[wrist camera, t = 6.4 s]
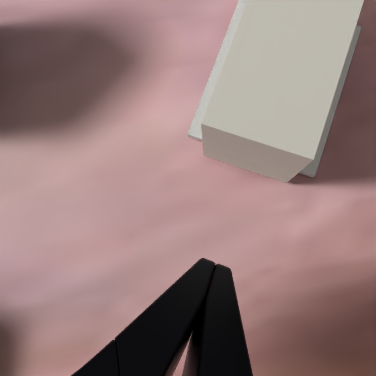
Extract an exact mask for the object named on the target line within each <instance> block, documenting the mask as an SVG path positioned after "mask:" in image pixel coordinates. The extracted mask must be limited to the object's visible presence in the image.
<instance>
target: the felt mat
mask: <svg viewBox="0 0 376 376" xmlns="http://www.w3.org/2000/svg"><path fill="white" fill-rule="evenodd" d="M247 1H248V0H239V2H238V4H237V7H236V10H235V12H234V15H233V17H232V20H231V23H230V25H229V28H228V30H227V33H226V36H225V38H224V41H223V43H222V46H221V49H220V51H219V54H218V56H217V59H216V62H215V64H214V67H213V69H212V72H211V75H210V77H209V80H208V82H207V85H206V88H205V90H204V93H203V96H202V98H201V101H200V103H199V106H198V109H197V111H196V114H195V116H194V119H193V122H192V124H191V127H190V129H189V132H188V137H190V138H193V139H196V140H199V141H202V142H203V140H202V130H201V122H202V120H203V117H204V114H205V112H206V109H207V106H208V104H209V101H210V98H211V96H212V93H213V91H214V88H215V85H216V83H217V80H218V77H219V75H220V72H221V69H222V67H223V64H224V62H225V59H226V56H227V54H228V51H229V48H230V46H231V43H232V40H233V38H234V35H235V33H236V30H237V27H238V25H239V22H240V19H241V17H242V14H243V11H244V9H245V6H246V4H247ZM361 28H362V26H358V25H356V27H355V31H354V34H353V37H352V40H351V43H350V46H349V50H348V53H347V56H346V59H345V62H344V65H343V68H342V72H341V75H340V78H339V81H338V84H337V87H336V91H335V94H334V97H333V100H332V103H331V106H330V110H329V113H328V116H327V119H326V122H325V125H324V129H323V132H322V135H321V138H320V141H319V144H318V147H317V151H316V154H315V157H314V160H313V161H312V162H310V163H309V164H308V165H307V166H306V167H305V168H304V169H302V170H301V171H300V172H299V173H300V174H303V175H306V176H309V177H312V178H313V177H315V175H316V172H317V169H318V165H319V162H320V159H321V156H322V153H323V149H324V146H325V143H326V140H327V137H328V133H329V130H330V127H331V124H332V121H333V117H334V114H335V111H336V108H337V105H338V102H339V98H340V95H341V92H342V89H343V86H344V82H345V79H346V76H347V73H348V70H349V66H350V63H351V60H352V57H353V54H354V50H355V47H356V44H357V41H358V38H359V34H360V31H361Z"/></svg>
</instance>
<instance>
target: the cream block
mask: <svg viewBox="0 0 376 376" xmlns="http://www.w3.org/2000/svg"><path fill="white" fill-rule="evenodd" d="M363 2H364V0H248V1H247V4H246V6H245V9H244V11H243V14H242V17H241V19H240V22H239V25H238V27H237V30H236V33H235V35H234V38H233V40H232V43H231V46H230V48H229V51H228V54H227V56H226V59H225V62H224V64H223V67H222V69H221V72H220V75H219V77H218V80H217V83H216V85H215V88H214V91H213V93H212V96H211V98H210V101H209V104H208V106H207V109H206V112H205V114H204V117H203V120H202V122H201V130H202V140H203V151H204V156H206V157H209V158H212V159H215V160H218V161H221V162H224V163H227V164H230V165H233V166H236V167H239V168H242V169H245V170H248V171H251V172H254V173H257V174H260V175H263V176H266V177H269V178H272V179H275V180H278V181H281V182H284V183H287V182H288V181H290V180H291V179H292V178H293V177H294V176H295V175H297V174H298V173H299V172H300V171H301V170H302V169H304V168H305V167H306V166H307V165H308V164H309V163H310V162H312V161H313V160H314V157H315V154H316V151H317V147H318V144H319V141H320V138H321V135H322V132H323V129H324V125H325V122H326V119H327V116H328V113H329V110H330V106H331V103H332V100H333V97H334V94H335V91H336V87H337V84H338V81H339V78H340V75H341V72H342V68H343V65H344V62H345V59H346V56H347V53H348V50H349V46H350V43H351V40H352V37H353V34H354V31H355V27H356V24H357V21H358V18H359V15H360V12H361V8H362V5H363Z"/></svg>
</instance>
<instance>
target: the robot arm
mask: <svg viewBox="0 0 376 376" xmlns="http://www.w3.org/2000/svg"><path fill="white" fill-rule="evenodd" d="M191 334H192V335H191ZM190 336H191V338H190ZM189 339H190V342H189V346H188V350H187V355H186V360H185V365H184V369H183V374H182V376H253V373H252V369H251V364H250V359H249V354H248V349H247V344H246V340H245V335H244V330H243V325H242V320H241V315H240V311H239V306H238V301H237V296H236V291H235V286H234V282H233V277H232V272H231V269H230V268H228V267H226V266H223V265H221V264H216V265H215V263H214V262H213V261H210V260H207V259H205V258H201V259H200V260H199V261H198V262H196V263H195V264H194V265H193V266H192V267H191V268H190V269H189V270H188V271H187V272H186V273H185V274H183V275H182V276H181V277H180V278H179V279H178V280H177V281H176V282H175V283H174V284H173V285H172V286H170V287H169V288H168V289H167V290H166V291H165V292H164V293H163V294H162V295H161V296H160V297H159V298H158V299H156V300H155V301H154V302H153V303H152V304H151V305H150V306H149V307H148V308H147V309H146V310H145V311H143V312H142V313H141V314H140V315H139V316H138V317H137V318H136V319H135V320H134V321H133V322H132V323H130V324H129V325H128V326H127V327H126V328H125V329H124V330H123V331H122V332H121V333H120V334H119V335H117V336H116V337H115V340H112V341H111V342H110V343H109V344H108V345H106V346H105V347H104V348H103V349H102V350H101V351H100V352H99V353H98V354H96V355H95V356H94V357H93V358H92V359H91V360H90V361H88V362H87V363H86V364H85V365H84V366H83V367H81V368H80V369H79V370H78V371H76V372H75V373H74V374H72V375H71V376H172V375H173V373H174V371H175V369H176V367H177V365H178V363H179V361H180V358H181V356H182V354H183V352H184V350H185V348H186V346H187V343H188V341H189Z"/></svg>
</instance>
